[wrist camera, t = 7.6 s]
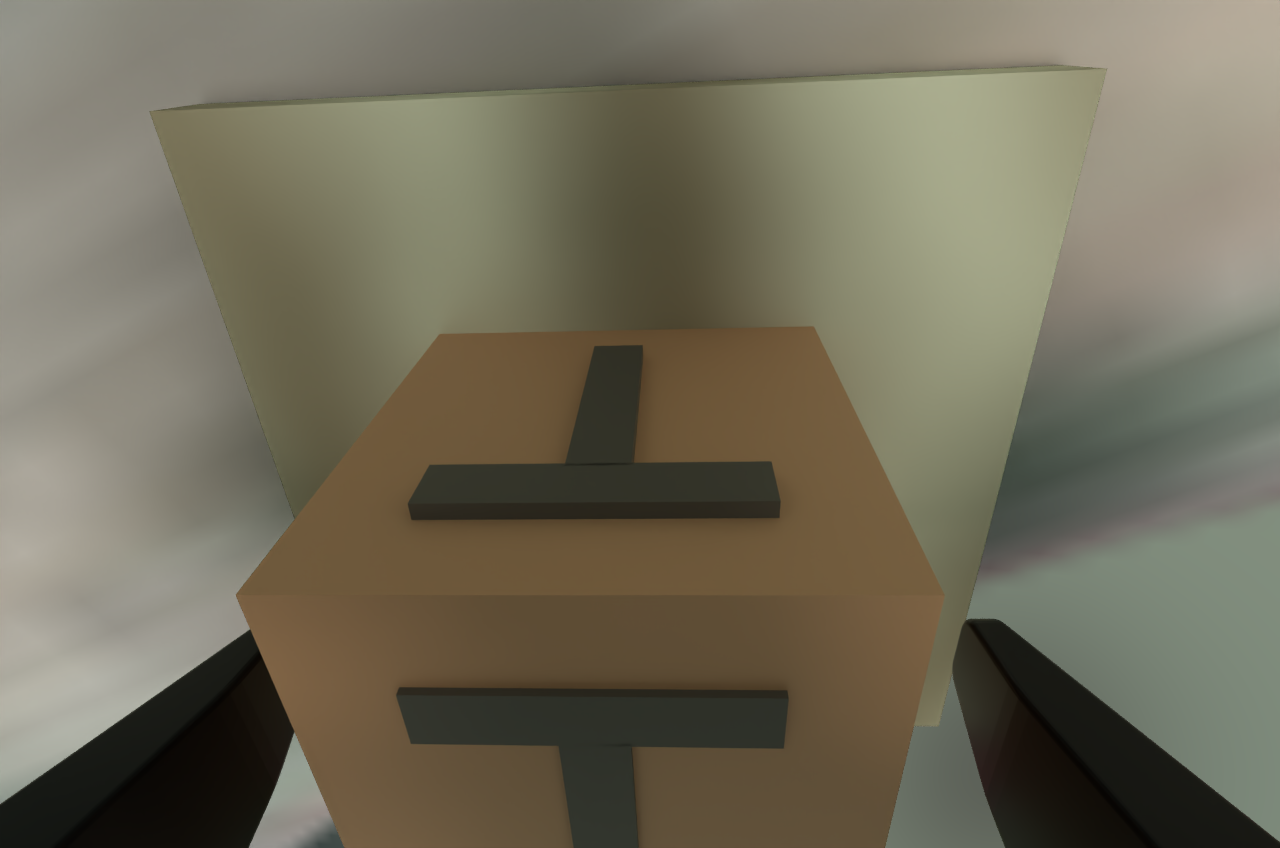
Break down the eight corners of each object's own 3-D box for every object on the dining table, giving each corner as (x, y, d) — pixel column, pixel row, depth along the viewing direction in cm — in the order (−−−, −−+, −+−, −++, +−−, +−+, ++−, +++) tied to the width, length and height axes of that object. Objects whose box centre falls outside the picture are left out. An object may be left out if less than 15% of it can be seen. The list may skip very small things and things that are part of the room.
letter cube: (491, 608, 14) (383, 952, 9) (437, 322, 11) (221, 584, 6) (788, 608, 14) (860, 966, 8) (815, 314, 11) (952, 585, 5)
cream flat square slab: (385, 680, 17) (367, 722, 16) (200, 103, 11) (148, 111, 10) (921, 682, 16) (938, 726, 15) (1061, 64, 10) (1106, 68, 9)
